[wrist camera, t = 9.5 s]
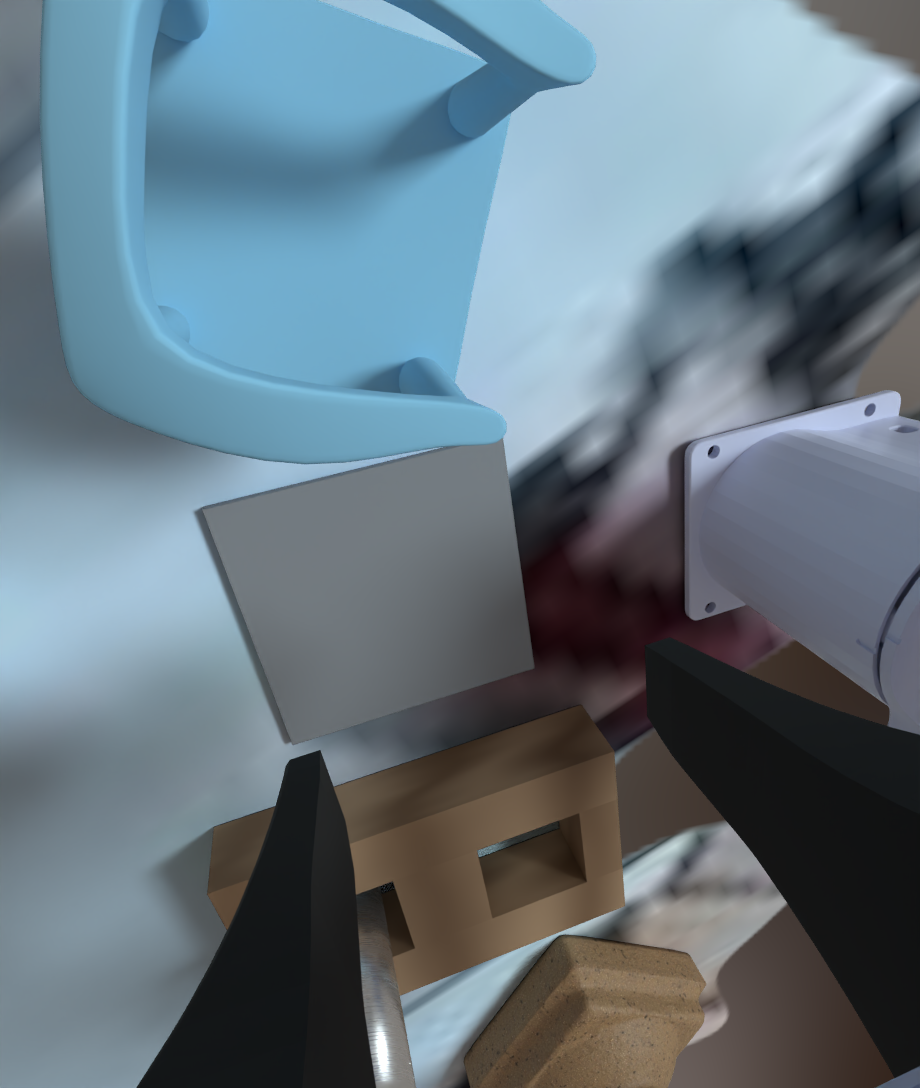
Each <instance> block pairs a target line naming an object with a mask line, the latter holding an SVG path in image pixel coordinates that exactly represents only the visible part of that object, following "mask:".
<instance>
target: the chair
mask: <svg viewBox="0 0 920 1088" xmlns="http://www.w3.org/2000/svg"><path fill="white" fill-rule="evenodd" d="M384 1H386V2H388V3H390V4H392V5H394V6H397V7H399V8H401V9H403V10H405V11H407V12H409V13H411V14H412V15H414V16H416V17H417V18H419V19H421V20H423V21H424V22H426V23H428V24H429V25H431V26H433V27H435V28H436V29H438V30H440V31H441V32H443V33H445V34H447V35H448V36H450V37H451V38H453V39H454V40H456V41H457V42H459V43H460V44H462V45H463V46H465V47H466V48H468V49H469V50H471V51H472V52H474V53H475V54H477V55H478V56H479V57H481V58H482V59H483V60H485V61H483V60H480V59H478V58H475V57H472V56H470V55H467V54H465V53H462V52H459V51H457V50H454V49H451V48H448V47H446V46H443V45H440V44H437V43H434V42H431V41H428V40H425V39H423V38H420V37H417V36H414V35H411V34H408V33H405V32H402V31H399V30H397V29H394V28H391V27H388V26H385V25H382V24H379V23H377V22H374V21H371V20H369V19H366V18H363V17H361V16H358V15H356V14H353V13H350V12H348V11H345V10H342V9H340V8H337V7H334V6H332V5H329V4H326V3H324V2H321V1H319V0H43V5H42V26H41V48H40V134H41V156H42V178H43V191H44V203H45V215H46V227H47V238H48V246H49V255H50V264H51V273H52V281H53V289H54V296H55V303H56V310H57V318H58V324H59V331H60V337H61V344H62V349H63V353H64V358H65V362H66V367H67V369H68V372H69V374H70V377H71V379H72V382H73V383H74V384H75V386H76V387H77V389H78V390H79V391H80V393H81V394H82V395H83V396H85V397H86V398H87V399H88V400H89V401H90V402H91V403H93V404H94V405H96V406H98V407H99V408H101V409H103V410H104V411H106V412H108V413H109V414H112V415H114V416H116V417H118V418H120V419H123V420H125V421H127V422H129V423H132V424H134V425H137V426H140V427H142V428H145V429H148V430H150V431H153V432H156V433H159V434H162V435H165V436H168V437H171V438H174V439H177V440H180V441H183V442H186V443H189V444H193V445H197V446H200V447H204V448H208V449H212V450H215V451H219V452H223V453H227V454H233V455H238V456H243V457H248V458H254V459H259V460H264V461H275V462H286V463H297V464H321V463H343V462H352V461H359V460H366V459H374V458H381V457H387V456H392V455H397V454H403V453H408V452H414V451H420V450H426V449H431V448H437V447H450V446H472V445H488V444H493V443H497V442H498V441H499V440H500V439H502V438H503V437H504V435H505V433H506V422H505V420H504V418H503V416H502V415H500V414H499V413H497V412H495V411H494V410H492V409H490V408H487V407H485V406H483V405H480V404H478V403H476V402H474V401H471V400H469V399H467V398H466V396H465V395H464V394H463V393H462V391H461V390H460V389H459V387H458V386H457V385H456V384H455V379H456V374H457V369H458V364H459V359H460V354H461V348H462V343H463V337H464V332H465V327H466V321H467V316H468V311H469V305H470V300H471V295H472V290H473V285H474V280H475V276H476V271H477V266H478V261H479V256H480V252H481V247H482V242H483V237H484V232H485V228H486V223H487V219H488V215H489V210H490V206H491V202H492V197H493V193H494V189H495V184H496V180H497V176H498V171H499V167H500V163H501V158H502V154H503V149H504V144H505V139H506V135H507V130H508V125H509V120H510V116H511V112H513V111H514V110H515V109H516V108H518V107H519V106H520V105H521V104H523V103H524V102H525V101H526V100H528V99H529V98H530V97H532V96H533V95H534V94H535V93H537V92H539V91H544V90H548V89H554V88H559V87H564V86H570V85H576V84H581V83H583V82H584V81H585V80H587V79H588V78H589V77H591V75H592V73H593V71H594V69H595V66H596V54H595V51H594V48H593V45H592V43H591V42H590V41H589V40H588V39H587V38H586V37H585V36H584V35H583V34H582V33H581V32H579V31H578V30H577V29H575V28H574V27H573V26H571V25H570V24H569V23H567V22H566V21H565V20H563V19H562V18H561V17H559V16H558V15H557V14H555V13H554V12H553V11H552V10H551V9H549V8H548V7H547V6H546V5H545V4H544V3H543V2H542V1H540V0H384Z"/></svg>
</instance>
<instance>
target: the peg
mask: <svg viewBox="0 0 920 1088" xmlns="http://www.w3.org/2000/svg"><path fill="white" fill-rule="evenodd" d="M356 902H357V917H358V932H359V947H360V962H361V978H362V991H363V1001H364V1010H365V1018H366V1025H367V1031H368V1038H369V1044H370V1051H371V1057H372V1064H373V1070H374V1077H375V1083H376V1088H416V1085H415V1079H414V1073H413V1068H412V1062H411V1057H410V1051H409V1045H408V1040H407V1034H406V1029H405V1023H404V1017H403V1012H402V1006H401V1000H400V995H399V989H398V984H397V978H396V972H395V967H394V961H393V956H392V950H391V944H390V939H389V933H388V928H387V922H386V916H385V911H384V905H383V899H382V894H381V888H380V886H378V887H376V888H373V889H370V890H367V891H365V892H362V893H359V894H357V895H356Z"/></svg>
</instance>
